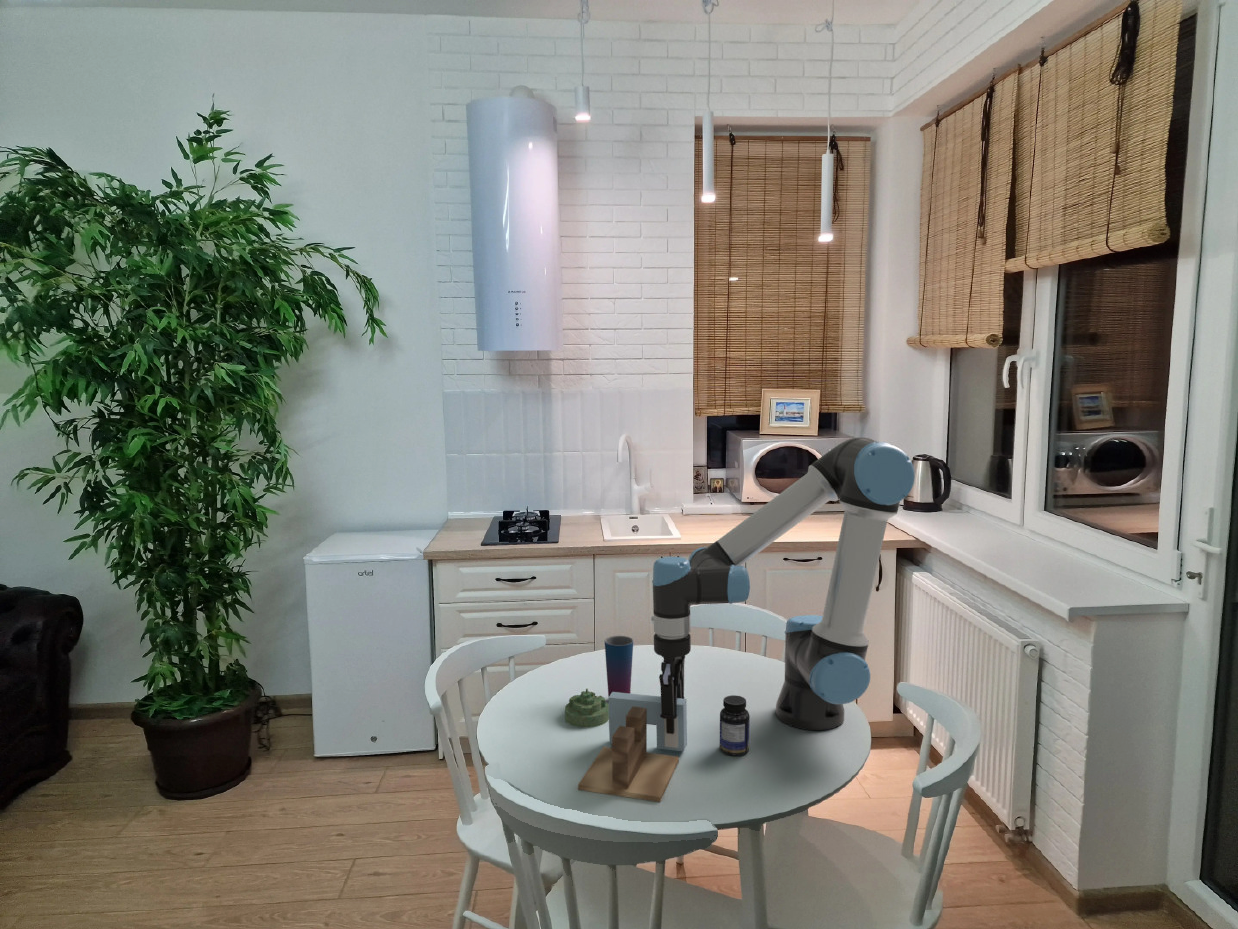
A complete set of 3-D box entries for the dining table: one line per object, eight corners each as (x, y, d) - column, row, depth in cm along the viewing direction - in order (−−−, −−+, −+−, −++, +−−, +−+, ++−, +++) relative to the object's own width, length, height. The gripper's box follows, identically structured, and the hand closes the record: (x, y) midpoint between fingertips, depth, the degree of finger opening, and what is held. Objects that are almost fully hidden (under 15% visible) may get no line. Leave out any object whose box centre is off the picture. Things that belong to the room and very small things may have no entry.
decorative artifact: (615, 724, 187) (600, 706, 196) (615, 694, 186) (600, 678, 195) (572, 731, 183) (559, 713, 193) (572, 700, 182) (559, 683, 192)
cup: (630, 708, 194) (630, 646, 192) (602, 706, 196) (601, 644, 194) (635, 696, 201) (635, 636, 199) (608, 694, 202) (607, 634, 200)
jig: (678, 761, 169) (679, 709, 168) (660, 802, 154) (660, 745, 152) (603, 751, 174) (603, 700, 172) (578, 789, 158) (577, 734, 157)
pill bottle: (729, 740, 178) (730, 691, 177) (754, 749, 174) (755, 698, 173) (713, 751, 173) (714, 700, 172) (739, 760, 170) (739, 708, 168)
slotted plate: (687, 744, 174) (686, 699, 173) (684, 751, 171) (683, 705, 170) (613, 736, 179) (612, 692, 177) (609, 742, 176) (608, 697, 175)
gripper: (663, 619, 179) (665, 723, 182) (644, 645, 164) (646, 758, 167) (697, 622, 177) (698, 727, 180) (681, 648, 161) (683, 763, 165)
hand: (673, 742), depth 173 cm, fingers closed on slotted plate, 3 cm apart
